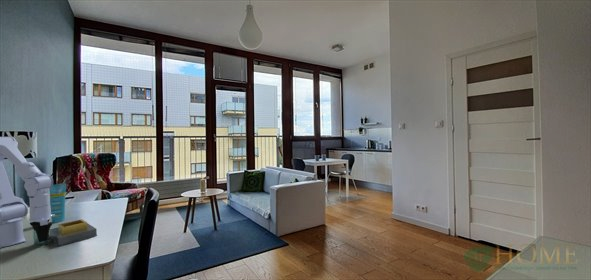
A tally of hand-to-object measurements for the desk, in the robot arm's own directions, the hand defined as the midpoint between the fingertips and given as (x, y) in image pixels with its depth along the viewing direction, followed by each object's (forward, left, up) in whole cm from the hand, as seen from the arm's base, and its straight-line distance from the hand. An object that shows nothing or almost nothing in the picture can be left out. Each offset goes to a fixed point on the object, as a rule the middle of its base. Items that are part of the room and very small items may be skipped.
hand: (41, 239), depth 100 cm
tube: (+10, +35, -2) cm, 37 cm away
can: (0, 0, -2) cm, 2 cm away
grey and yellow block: (+9, 0, -2) cm, 10 cm away
